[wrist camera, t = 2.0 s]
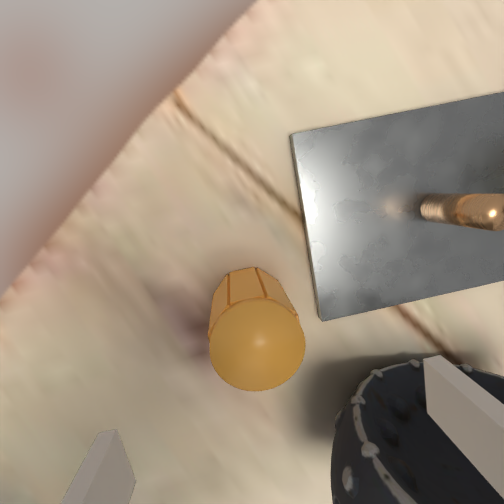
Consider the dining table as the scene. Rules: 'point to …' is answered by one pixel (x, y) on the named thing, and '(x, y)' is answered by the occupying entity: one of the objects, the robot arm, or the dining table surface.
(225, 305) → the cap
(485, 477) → the robot arm
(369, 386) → the studded dark pot
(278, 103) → the dining table surface
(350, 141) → the plate
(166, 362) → the dining table surface
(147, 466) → the dining table surface
